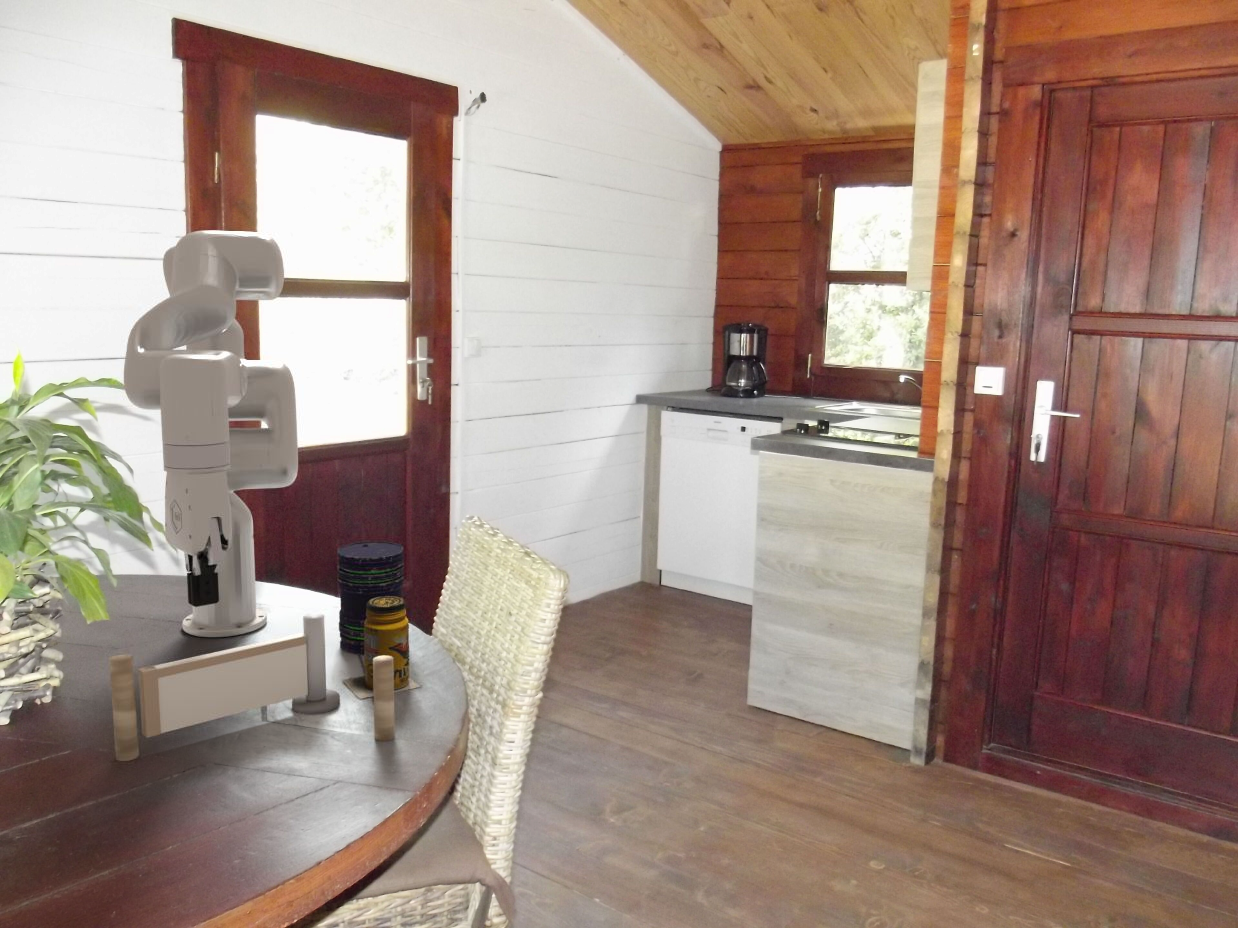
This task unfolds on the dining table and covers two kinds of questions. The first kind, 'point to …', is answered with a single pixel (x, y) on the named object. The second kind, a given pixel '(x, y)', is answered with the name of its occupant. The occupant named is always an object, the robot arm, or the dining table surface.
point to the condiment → (384, 644)
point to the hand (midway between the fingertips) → (203, 603)
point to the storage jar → (365, 585)
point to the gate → (234, 680)
